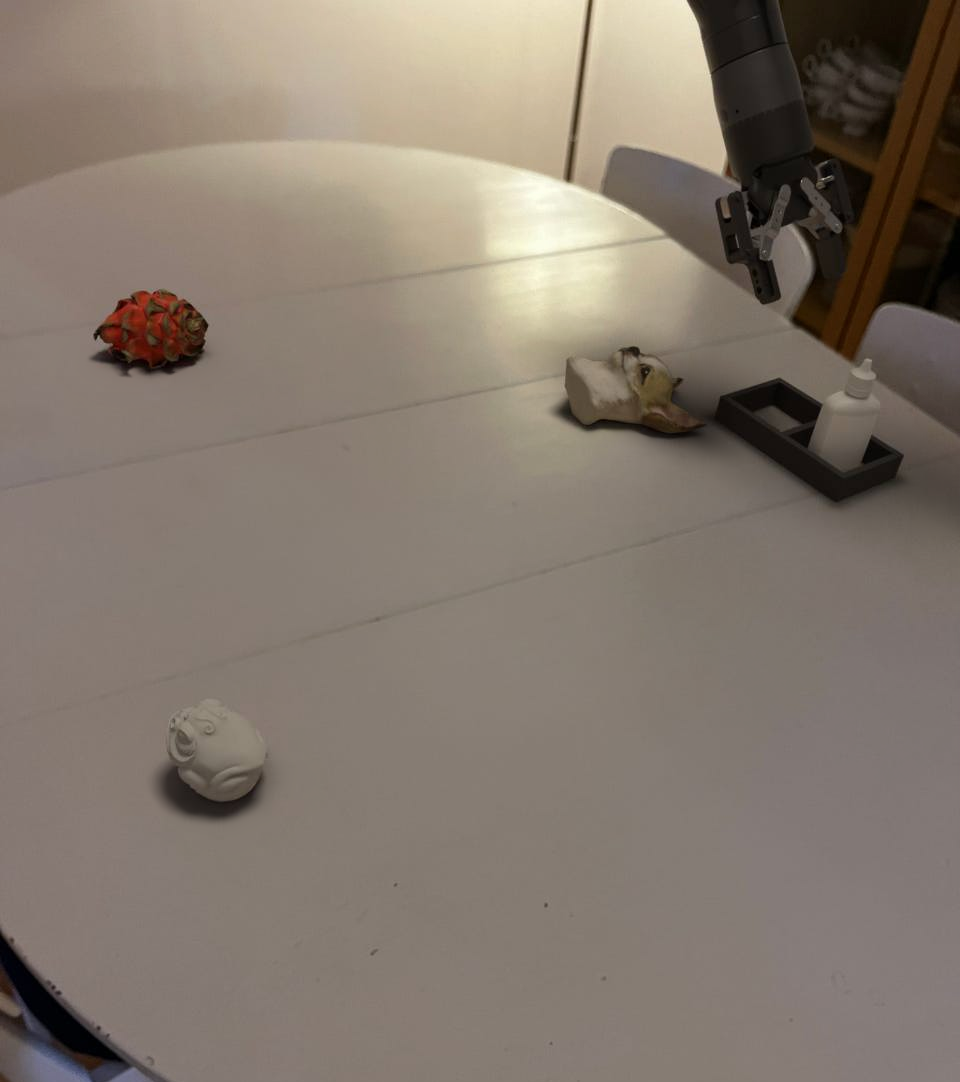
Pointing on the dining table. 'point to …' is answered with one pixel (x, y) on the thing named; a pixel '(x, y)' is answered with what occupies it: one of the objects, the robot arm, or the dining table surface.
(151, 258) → the dining table surface
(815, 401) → the dark grey divided tray
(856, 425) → the eye dropper bottle
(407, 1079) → the dining table surface
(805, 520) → the dining table surface
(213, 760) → the frog figurine
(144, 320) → the dragon fruit
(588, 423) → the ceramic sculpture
